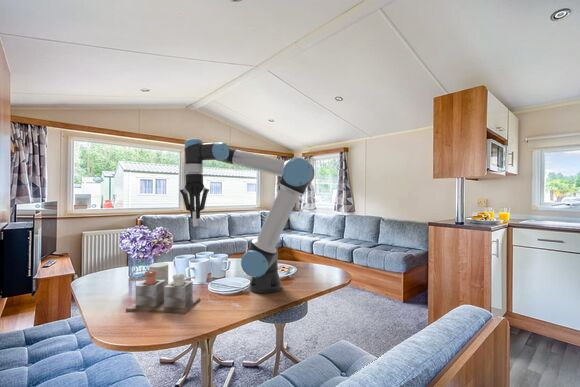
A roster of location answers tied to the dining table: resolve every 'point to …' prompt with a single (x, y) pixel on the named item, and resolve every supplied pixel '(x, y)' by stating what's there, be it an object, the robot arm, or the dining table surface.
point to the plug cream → (178, 279)
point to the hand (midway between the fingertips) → (195, 226)
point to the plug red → (151, 277)
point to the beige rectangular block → (160, 271)
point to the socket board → (164, 298)
